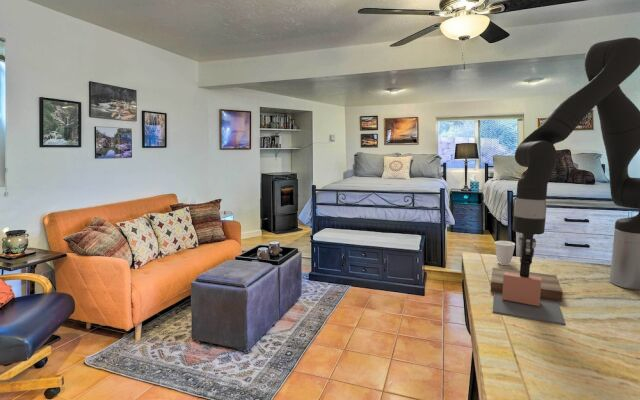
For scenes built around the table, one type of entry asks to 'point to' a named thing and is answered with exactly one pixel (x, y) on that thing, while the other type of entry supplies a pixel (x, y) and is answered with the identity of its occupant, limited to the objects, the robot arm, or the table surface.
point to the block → (521, 289)
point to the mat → (529, 309)
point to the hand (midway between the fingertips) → (524, 276)
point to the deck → (548, 282)
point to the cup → (504, 251)
